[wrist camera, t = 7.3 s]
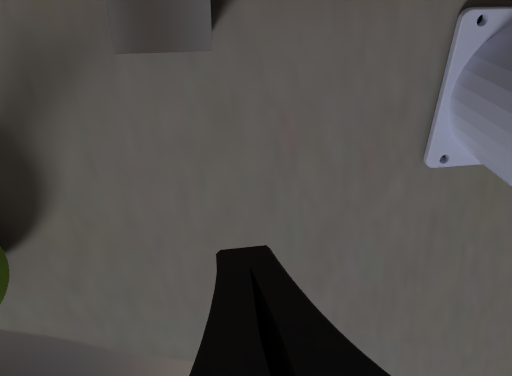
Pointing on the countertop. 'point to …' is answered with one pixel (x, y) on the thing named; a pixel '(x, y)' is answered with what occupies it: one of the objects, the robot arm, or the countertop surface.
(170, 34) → the brown flat frame
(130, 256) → the countertop surface
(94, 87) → the countertop surface
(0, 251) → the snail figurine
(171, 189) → the countertop surface
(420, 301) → the countertop surface
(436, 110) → the robot arm
